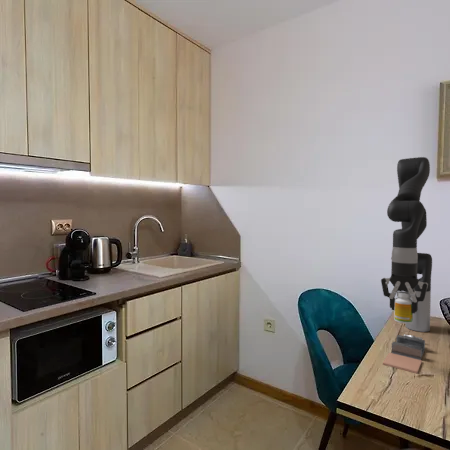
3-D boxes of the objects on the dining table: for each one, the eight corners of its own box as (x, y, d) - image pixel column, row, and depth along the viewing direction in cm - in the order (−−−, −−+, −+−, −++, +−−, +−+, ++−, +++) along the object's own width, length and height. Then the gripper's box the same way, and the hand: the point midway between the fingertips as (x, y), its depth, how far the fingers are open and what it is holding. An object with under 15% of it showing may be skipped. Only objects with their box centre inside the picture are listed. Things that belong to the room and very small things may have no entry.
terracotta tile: (389, 354, 115) (389, 352, 115) (421, 362, 109) (421, 360, 109) (382, 364, 108) (382, 362, 107) (417, 373, 101) (417, 371, 101)
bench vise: (400, 338, 130) (400, 330, 130) (427, 344, 124) (427, 335, 124) (391, 353, 116) (391, 343, 116) (420, 360, 111) (420, 350, 111)
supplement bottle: (414, 324, 104) (414, 295, 104) (395, 323, 106) (396, 293, 106) (410, 320, 110) (411, 291, 109) (392, 318, 111) (393, 290, 111)
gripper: (431, 261, 106) (429, 312, 106) (383, 257, 115) (382, 305, 115) (428, 264, 100) (427, 318, 100) (378, 260, 109) (377, 309, 109)
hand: (403, 311), depth 108 cm, fingers closed on supplement bottle, 5 cm apart
